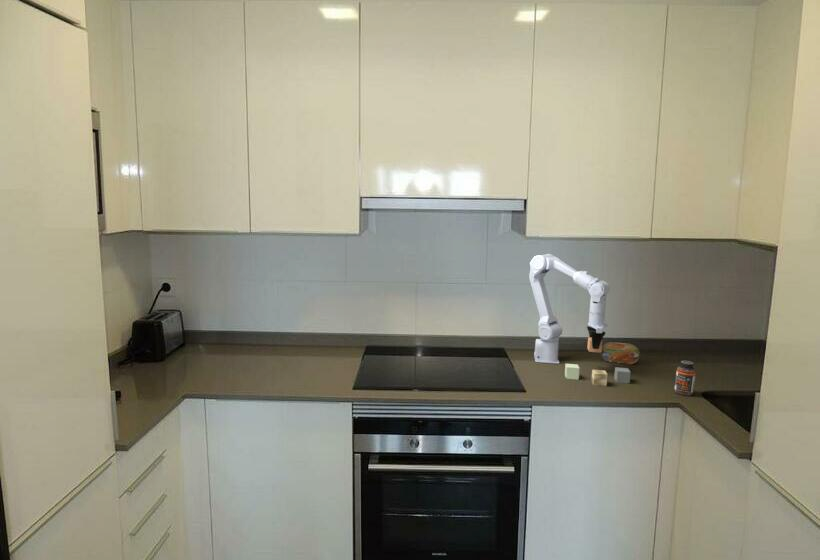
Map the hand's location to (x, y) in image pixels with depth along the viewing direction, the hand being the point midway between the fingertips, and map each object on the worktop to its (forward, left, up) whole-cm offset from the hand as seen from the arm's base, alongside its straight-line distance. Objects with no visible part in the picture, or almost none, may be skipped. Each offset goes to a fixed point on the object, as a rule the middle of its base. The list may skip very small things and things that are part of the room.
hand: (594, 346), depth 206 cm
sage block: (-9, -9, -10) cm, 16 cm away
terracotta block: (0, 0, -1) cm, 1 cm away
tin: (+13, +15, -10) cm, 22 cm away
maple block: (0, -14, -10) cm, 17 cm away
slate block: (+9, -9, -10) cm, 16 cm away
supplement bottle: (+28, -17, -10) cm, 34 cm away
